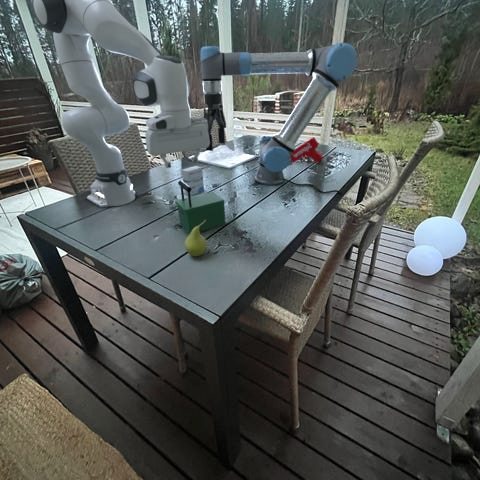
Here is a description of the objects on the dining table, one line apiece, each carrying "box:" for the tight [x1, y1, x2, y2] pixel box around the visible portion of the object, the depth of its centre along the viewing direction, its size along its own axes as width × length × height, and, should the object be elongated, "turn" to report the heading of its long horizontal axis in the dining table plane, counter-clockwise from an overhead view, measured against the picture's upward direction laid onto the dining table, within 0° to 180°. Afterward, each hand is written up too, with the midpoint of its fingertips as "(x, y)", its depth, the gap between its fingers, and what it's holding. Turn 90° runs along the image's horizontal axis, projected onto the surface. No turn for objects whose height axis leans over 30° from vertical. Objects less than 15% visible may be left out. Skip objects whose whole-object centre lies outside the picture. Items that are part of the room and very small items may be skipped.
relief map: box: [188, 144, 257, 170], centre depth 178 cm, size 27×35×5 cm
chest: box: [177, 202, 226, 235], centre depth 103 cm, size 15×9×9 cm, turn 122°
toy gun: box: [290, 136, 324, 165], centre depth 169 cm, size 18×4×15 cm
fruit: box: [184, 219, 208, 257], centre depth 85 cm, size 7×8×12 cm
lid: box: [174, 179, 225, 213], centre depth 98 cm, size 16×9×9 cm, turn 122°
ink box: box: [181, 165, 205, 197], centre depth 128 cm, size 8×5×12 cm, turn 134°
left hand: (182, 164), depth 90 cm, fingers open, 8 cm apart
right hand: (216, 146), depth 122 cm, fingers open, 13 cm apart
